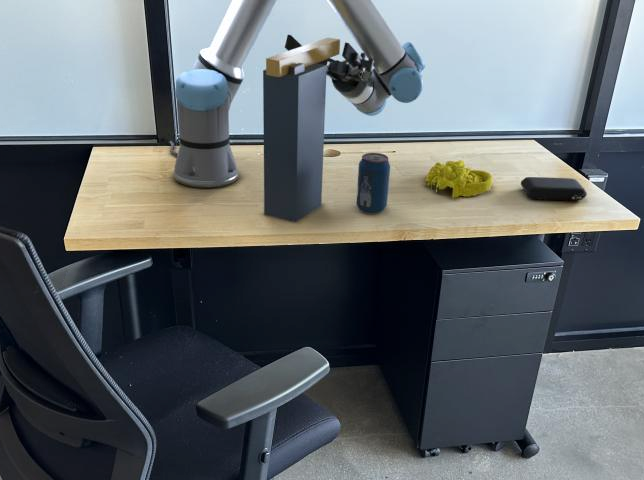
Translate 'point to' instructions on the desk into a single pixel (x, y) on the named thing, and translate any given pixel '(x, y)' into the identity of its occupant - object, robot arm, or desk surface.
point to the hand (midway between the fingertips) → (315, 45)
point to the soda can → (373, 183)
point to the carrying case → (553, 188)
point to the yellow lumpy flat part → (459, 178)
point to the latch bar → (302, 56)
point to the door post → (294, 141)
